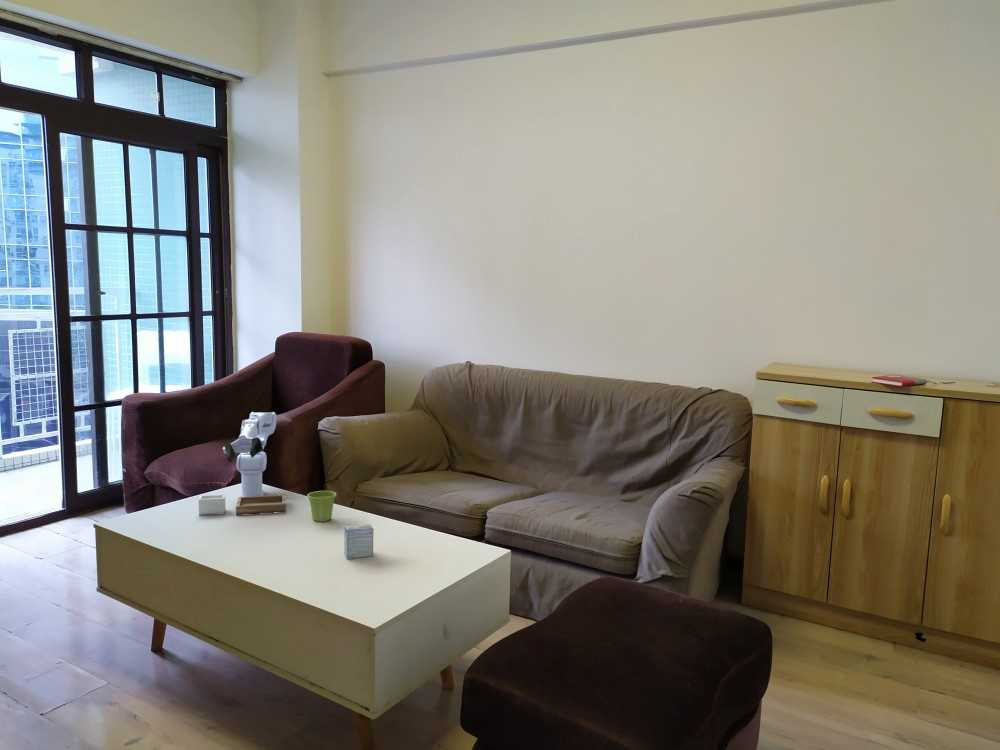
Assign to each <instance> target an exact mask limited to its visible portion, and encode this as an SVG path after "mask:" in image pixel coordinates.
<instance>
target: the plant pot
mask: <svg viewBox="0 0 1000 750" xmlns="http://www.w3.org/2000/svg"><path fill="white" fill-rule="evenodd" d="M336 496H337V492H335V491H331V490H318V491H313V492H309V493H308V494H307V498H308V500H309V503H310V509H311V518H312V520H313V521H314V520H315V521H316V522H318V521H323V522H327V521H330V520H329V519H331V520H332V515H333V509H334V503H335V498H336ZM326 520H327V521H326Z"/></svg>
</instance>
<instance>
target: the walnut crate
mask: <svg viewBox="0 0 1000 750" xmlns="http://www.w3.org/2000/svg"><path fill="white" fill-rule="evenodd" d="M274 512H285V513H286V494H279V495H277V494H275V495H263V496H253V497H239V496H238V497H237V502H236V506H235V516H244V515H243V514H253V515H261V514H260V513H271V514H275V513H274Z"/></svg>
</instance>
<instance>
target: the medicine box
mask: <svg viewBox="0 0 1000 750" xmlns="http://www.w3.org/2000/svg"><path fill="white" fill-rule="evenodd" d="M343 530H344V531H343V541H344V542H343V545H344V546H343V552H344V556H345V558H346V560H349V559H359V558H360V559H361V558H367V557H374V527H373V526H372V524H370V523H364V524H362V523H361V524H353V525H345V526H344V528H343Z"/></svg>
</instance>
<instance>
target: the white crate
mask: <svg viewBox="0 0 1000 750" xmlns="http://www.w3.org/2000/svg"><path fill="white" fill-rule="evenodd" d="M224 512H225V513H226V494H225V493H224V494H208V495H207V494H205V495H204V494H203V495H200V496H199V498H198V515H199V516H208V515H207V514H215V515H221V514H220V513H224ZM225 513H224V514H225Z"/></svg>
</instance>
